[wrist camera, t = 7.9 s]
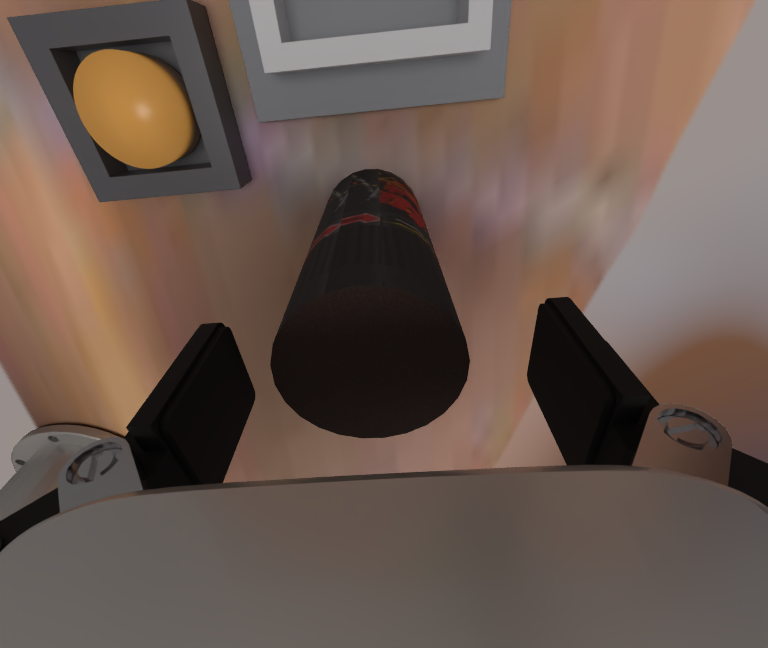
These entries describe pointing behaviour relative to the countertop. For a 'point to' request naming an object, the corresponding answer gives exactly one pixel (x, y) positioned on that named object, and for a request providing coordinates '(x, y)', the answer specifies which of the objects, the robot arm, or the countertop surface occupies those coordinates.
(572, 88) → the countertop surface
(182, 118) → the button
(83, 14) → the button housing
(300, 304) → the deodorant
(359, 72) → the grey rectangular tray
